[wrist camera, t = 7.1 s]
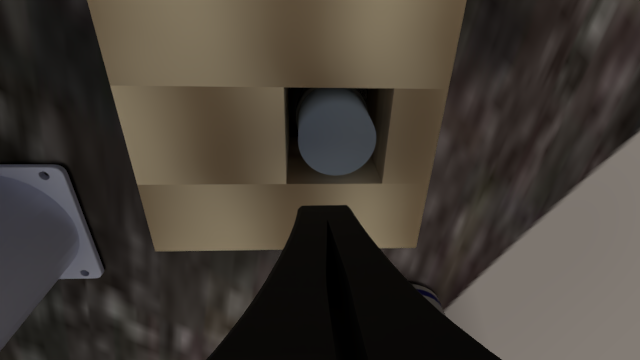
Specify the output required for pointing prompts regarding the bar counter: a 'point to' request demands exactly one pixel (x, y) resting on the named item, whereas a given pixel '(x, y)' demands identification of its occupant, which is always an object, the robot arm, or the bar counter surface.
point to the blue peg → (334, 130)
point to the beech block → (273, 111)
